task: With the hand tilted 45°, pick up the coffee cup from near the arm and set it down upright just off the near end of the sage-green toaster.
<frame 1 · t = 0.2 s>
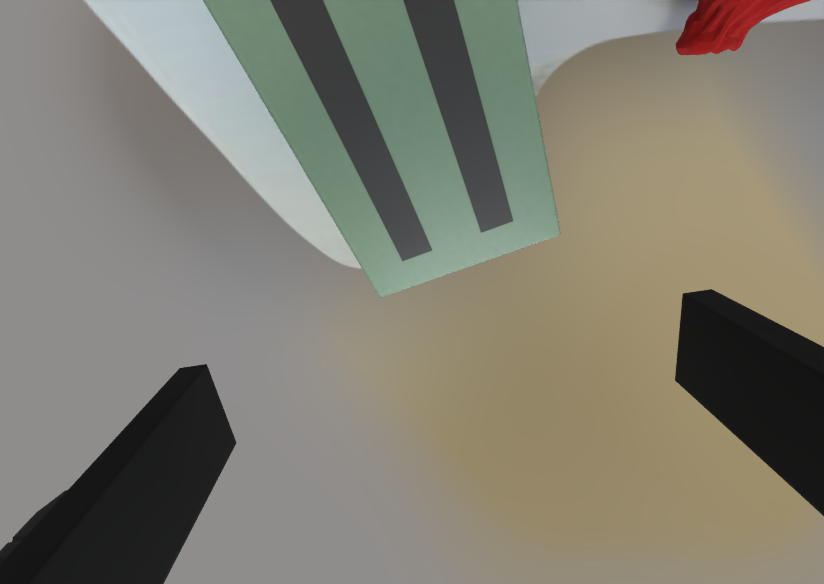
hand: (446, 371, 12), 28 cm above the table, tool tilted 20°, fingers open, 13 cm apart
toaster: (395, 49, 31), on the table
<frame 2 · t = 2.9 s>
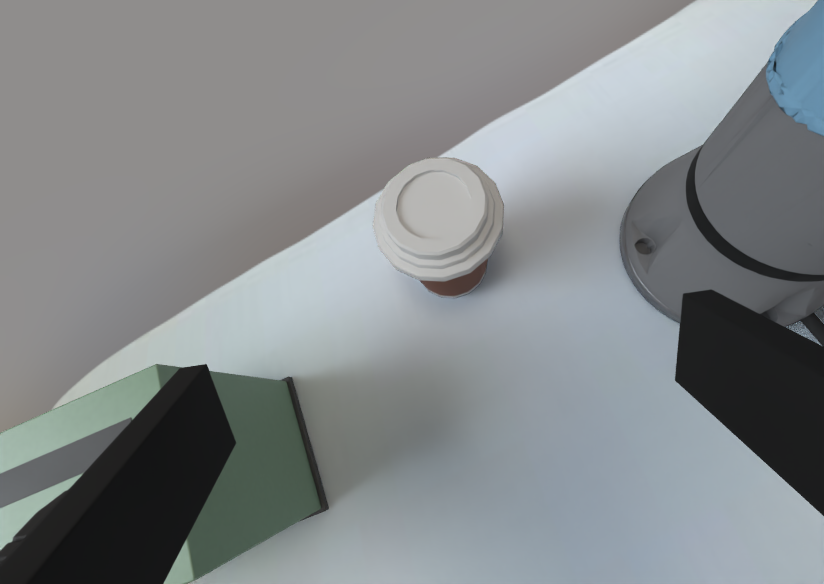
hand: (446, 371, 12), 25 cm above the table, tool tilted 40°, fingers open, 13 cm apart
coffee cup: (451, 264, 39), on the table
toaster: (215, 478, 37), on the table
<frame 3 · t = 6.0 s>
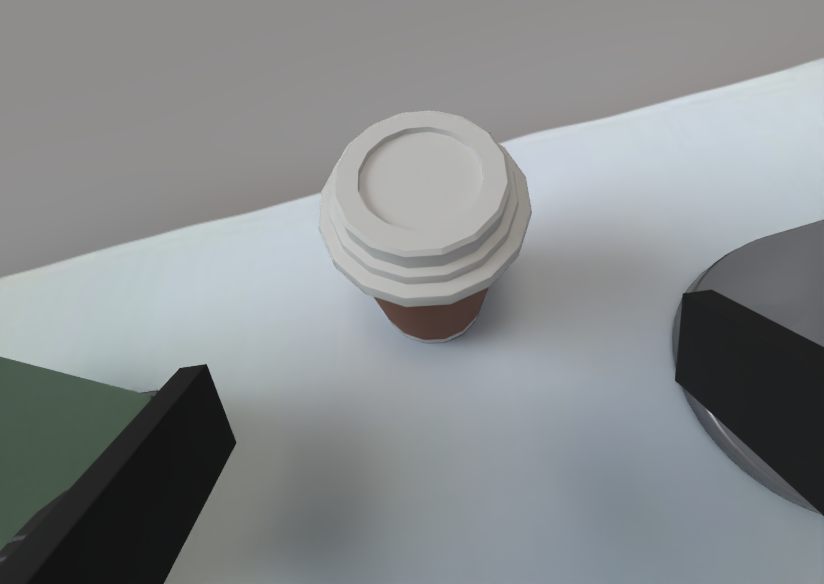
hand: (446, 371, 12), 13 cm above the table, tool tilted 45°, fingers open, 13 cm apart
coffee cup: (432, 296, 27), on the table
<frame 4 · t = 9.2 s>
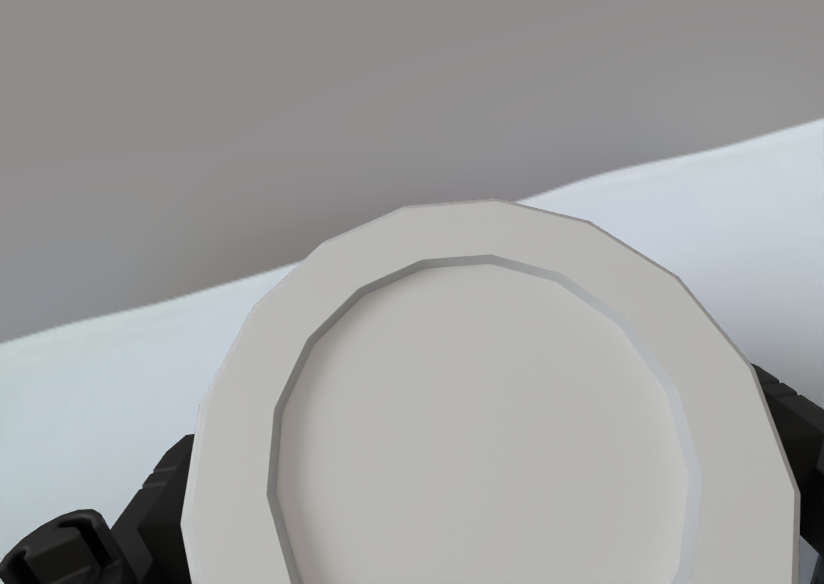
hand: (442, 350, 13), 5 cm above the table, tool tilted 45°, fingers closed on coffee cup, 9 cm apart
coffee cup: (458, 464, 16), on the table, touching gripper
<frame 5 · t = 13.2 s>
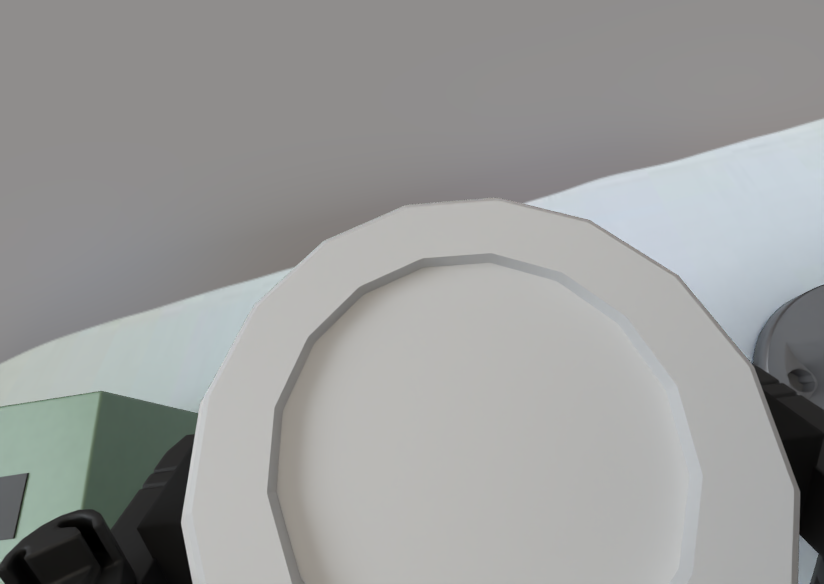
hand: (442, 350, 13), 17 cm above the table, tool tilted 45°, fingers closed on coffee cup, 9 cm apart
coffee cup: (458, 464, 16), point 12 cm above the table, touching gripper
toaster: (143, 542, 27), on the table
when the fingers open (5 cm above the table, at t = 17.1 s): coffee cup stays where it is, on the table.
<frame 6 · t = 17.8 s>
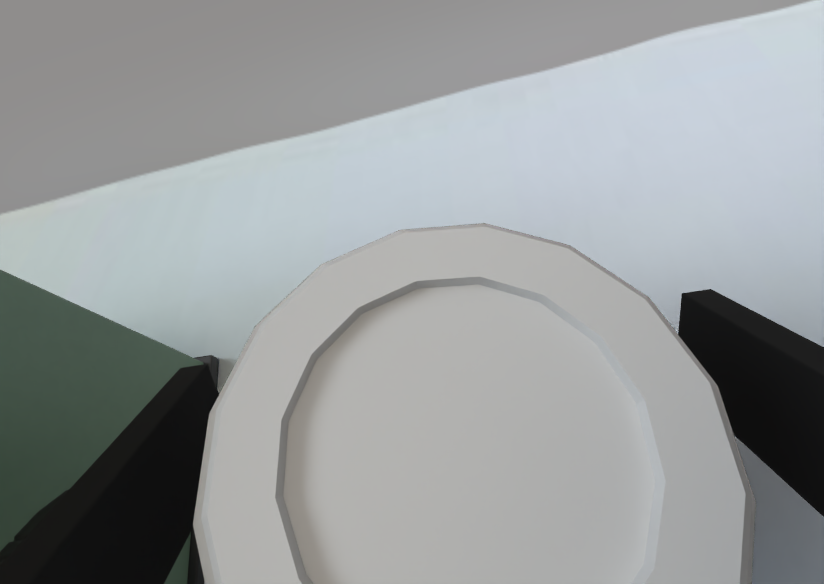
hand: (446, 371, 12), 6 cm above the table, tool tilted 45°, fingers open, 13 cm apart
coffee cup: (453, 466, 17), on the table
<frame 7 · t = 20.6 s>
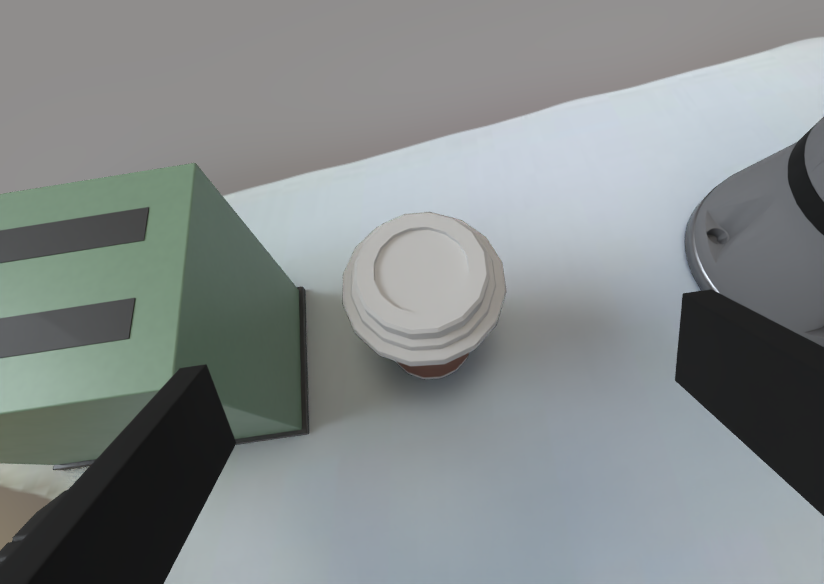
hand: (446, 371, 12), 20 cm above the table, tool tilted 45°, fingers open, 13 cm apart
coffee cup: (430, 338, 33), on the table
toaster: (190, 373, 33), on the table
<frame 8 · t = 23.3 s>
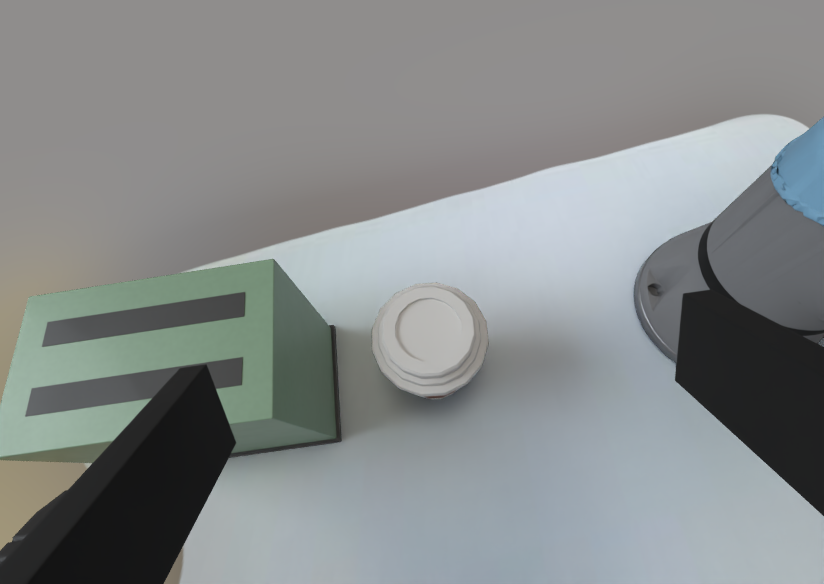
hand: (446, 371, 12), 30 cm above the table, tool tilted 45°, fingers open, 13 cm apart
coffee cup: (434, 367, 42), on the table
toaster: (247, 394, 42), on the table
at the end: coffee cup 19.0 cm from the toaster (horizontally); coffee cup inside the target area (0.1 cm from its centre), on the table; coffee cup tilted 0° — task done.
